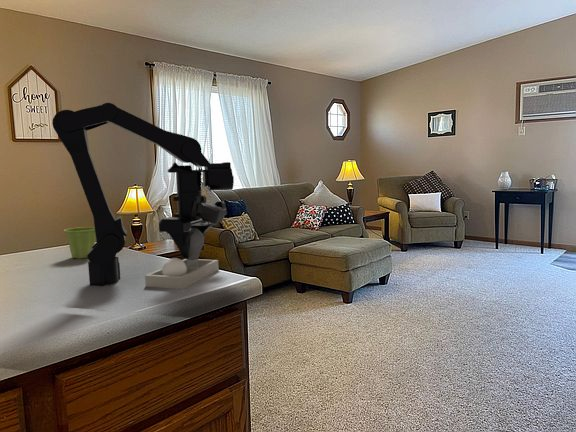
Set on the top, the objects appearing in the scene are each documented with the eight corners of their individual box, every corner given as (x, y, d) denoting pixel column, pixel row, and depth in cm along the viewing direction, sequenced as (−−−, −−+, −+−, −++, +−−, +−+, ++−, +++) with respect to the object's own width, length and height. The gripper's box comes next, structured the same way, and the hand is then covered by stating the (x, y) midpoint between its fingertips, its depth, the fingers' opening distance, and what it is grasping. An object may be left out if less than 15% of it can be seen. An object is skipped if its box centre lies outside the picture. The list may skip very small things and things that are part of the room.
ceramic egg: (179, 285, 95) (178, 261, 94) (157, 284, 97) (156, 260, 96) (191, 279, 100) (190, 256, 99) (171, 278, 102) (169, 255, 101)
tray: (183, 293, 93) (182, 277, 92) (145, 290, 95) (144, 275, 95) (218, 273, 109) (218, 260, 109) (186, 271, 112) (185, 258, 112)
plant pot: (66, 255, 136) (64, 228, 135) (99, 252, 140) (97, 225, 139) (65, 261, 128) (62, 232, 127) (100, 257, 132) (98, 229, 131)
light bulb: (208, 265, 109) (206, 225, 108) (201, 271, 103) (199, 229, 102) (185, 265, 109) (183, 226, 108) (176, 271, 103) (174, 229, 102)
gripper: (201, 194, 93) (204, 266, 95) (236, 189, 111) (238, 250, 112) (155, 194, 96) (159, 264, 98) (196, 189, 114) (199, 248, 115)
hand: (192, 256), depth 106 cm, fingers closed on light bulb, 5 cm apart
